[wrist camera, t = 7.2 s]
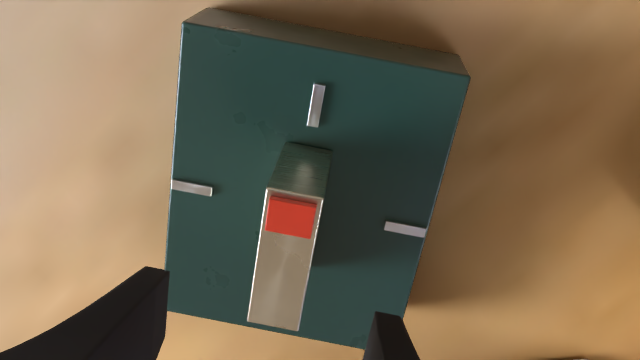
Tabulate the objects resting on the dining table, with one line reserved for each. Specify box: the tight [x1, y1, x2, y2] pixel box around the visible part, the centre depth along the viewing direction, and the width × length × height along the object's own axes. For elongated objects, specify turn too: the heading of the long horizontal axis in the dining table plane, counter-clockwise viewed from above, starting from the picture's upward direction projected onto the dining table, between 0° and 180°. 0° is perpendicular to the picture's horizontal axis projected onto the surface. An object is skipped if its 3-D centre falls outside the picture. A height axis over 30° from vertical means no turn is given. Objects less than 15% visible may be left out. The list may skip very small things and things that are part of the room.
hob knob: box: [247, 142, 333, 331], centre depth 19 cm, size 5×2×4 cm, turn 171°
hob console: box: [165, 8, 471, 349], centre depth 22 cm, size 11×9×3 cm
